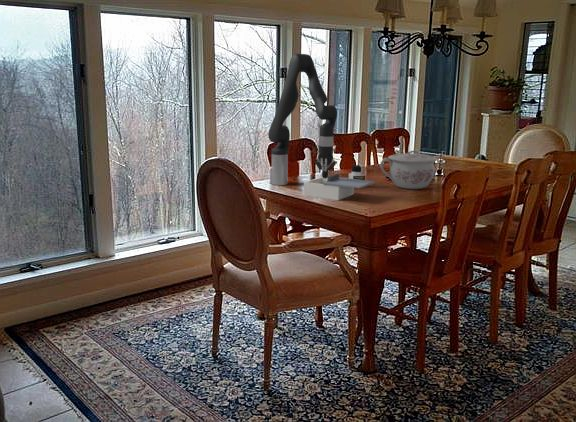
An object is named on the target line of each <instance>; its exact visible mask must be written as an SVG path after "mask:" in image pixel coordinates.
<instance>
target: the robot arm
mask: <svg viewBox="0 0 576 422" xmlns="http://www.w3.org/2000/svg"><path fill="white" fill-rule="evenodd" d="M300 73H305V75H306V76H307V78H308V92H309V95H310V96H311V99H312V100H313V104H314V107H315V113H316V116H317V118H318V119H320V120H322V121H325V122H324V123H323V124H321V125H320V126H319V135H318V136H319V138H318V156H317V158H316V159H313V161H314V163H315V165H316V167H317V168H318V170H320V171H321V177H323V178H328V176H329V171H332V170H333V169H334V167H336V165H337V164H338V161H337V160H335V158H334V128H335V124H336V122H337V118H338V111H337V110H338V109H337V108H336V106H334V105H326V103H327V101H328V97H327V94H326V93H325V90H324V88H323V86H322V84H321V81H320V78H319V76H318V72H317V69H316V66H315V63H314V60H313V58H312V56H311V55H310V54H307V53H295V54H293V55H292V56H291V57H290V60H289V63H288V69H287V74H286V78H285V82H284V85H283V89H282V92H281V95H280V98H279V102H278V106H277V109H276V112H275V114H274V116H273V120H272V122H271V124H270V127H269V129H268V139H269V141H270V142H272V143H277V144H276V145H275V146H274V147H273V148H271V166H270V167H269V184H271V185H273V186H287V185H288V180H289V179H288V176H289V174H288V169H289V168H288V166H289V165H288V163H289V160H288V159H289V157H288V156H289V154H288V153H289V149H290V140H291V138H290V137H291V134H290V132H291V131H290V129H289V127H288V126H287V125H285V124H284V123H285V121H286V120H287V119H288V117H290V115H291V114H292V113H293V112H294V111H295V109H296V106H297V104H298V100H299V89H298V84H297V82H298V77H299V74H300Z"/></svg>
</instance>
